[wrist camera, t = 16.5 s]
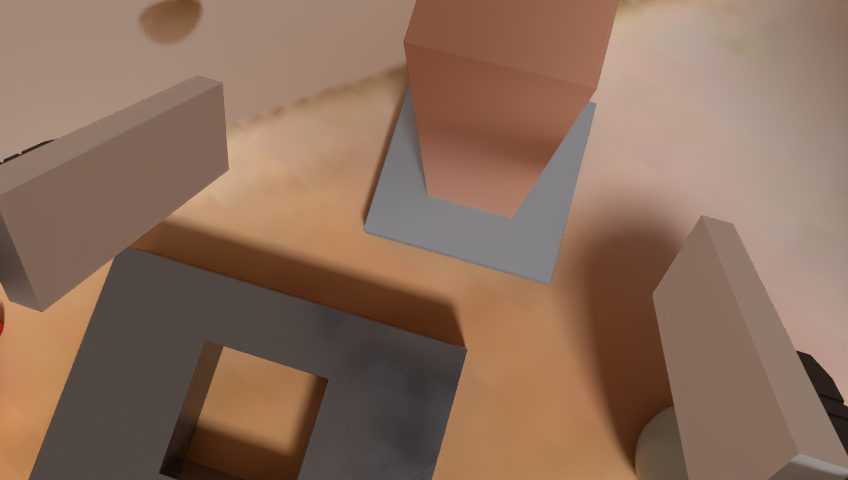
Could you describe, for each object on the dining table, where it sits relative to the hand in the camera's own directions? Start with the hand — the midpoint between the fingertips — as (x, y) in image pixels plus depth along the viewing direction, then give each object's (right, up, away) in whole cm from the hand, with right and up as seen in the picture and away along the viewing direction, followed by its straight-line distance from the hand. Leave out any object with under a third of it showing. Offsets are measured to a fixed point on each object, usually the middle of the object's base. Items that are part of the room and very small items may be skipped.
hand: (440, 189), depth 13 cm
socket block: (-10, -11, +14) cm, 21 cm away
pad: (+3, +3, +16) cm, 16 cm away
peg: (+3, +3, +15) cm, 16 cm away
